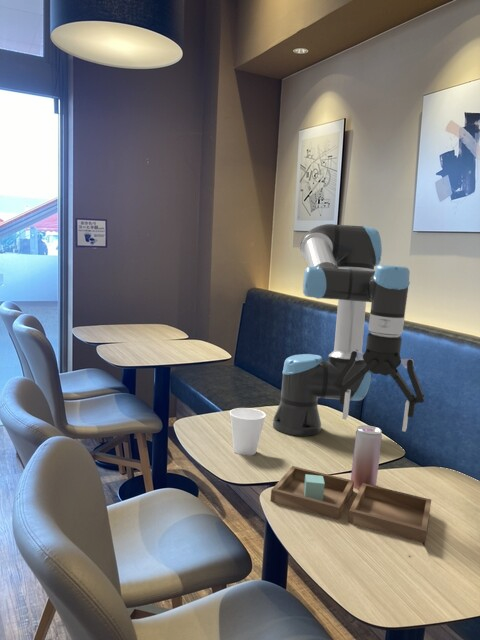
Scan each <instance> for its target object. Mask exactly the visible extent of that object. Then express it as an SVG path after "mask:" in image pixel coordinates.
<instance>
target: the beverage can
mask: <svg viewBox="0 0 480 640" xmlns="http://www.w3.org/2000/svg"><path fill="white" fill-rule="evenodd" d="M382 439H383V435H382V429H381V428H379V427H376V426H372V425H366V424H365V425H364V424H363V425H358V426H357V429H356V431H355V439H354V447H353V456H352V465H351V475H350V480H353V481H354V487H353V489H356V490H358V491H359V490H360V488H361V486H362V484H363V483H365V484H369V485H373V486H377V482H378V481H377V480H378V474H379V464H380V455H381V449H382V448H381V447H382Z"/></svg>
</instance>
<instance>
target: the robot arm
mask: <svg viewBox="0 0 480 640" xmlns="http://www.w3.org/2000/svg"><path fill="white" fill-rule="evenodd" d="M299 249H300V254H301V257H302V258H303V260H305V261H306V265H307V267H306V268H305V269H304V273H303V281H302V293H303V295H304V296H305V297H308V298H315V299H324V300H325V299H326V300H337V311H336V323H335V335H334V344H333V345H334V347H333V351H331V353H329V354H328V360H323V356H321V355H319V354H312V353H303V354H300V353H299V354H294V355H291V356H289V357H287V358H286V359H285V360H284V363H283V370H282V380H281V381H282V382H281V392H280V402H279V405H278V406H277V408H276V409H277V410H276V412H275V413H274V415H273V419H272V421H273V422H272V428H274V429H275V430H276V431H279V432H281V433H283V434H287V435H291V436H300V437H301V436H303V437H305V436H306V437H307V436H309V437H310V436H315V435H318V434H319V433H321V430H322V429H321V428H322V422H321V417H320V416H321V415H320V413H319V412H320V411H319V409H318V401H319V399H330V400H339V404H341V405H343V410H342V418H341V419H342V420H347V418H348V416H349V411H350V401H355V402H356V401H357V402H358V401H362V400H363V399H364V398H365V397H366V395H367V394H368V392H369V389H370V384H371V380H372V374H374V375H379V374H380V375H382V376H390V377H391V378H392V379H393V380H394V381H395V383H396V385H397V386H398V387H399V389H400V391H401V392H402V393H403V395H404V396H405V398H406V399H407V400H406V401H405V404H404V405H405V406H404V414H403V421H402V429H401V432H404V433H405V432H406V431H407V427H408V421H409V418H413V416H414V414H415V407H416V404H418V403H424V400H425V395H424V392H423V390H422V387H421V384H420V381H419V379H418V376H417V373H416V371H415V368H414V367H415V364H414V363H415V360H414V358H413V357H410V358H401V346H402V340H403V338H402V336H401V335H402V334H403V332H404V325H405V324H404V323H405V317H406V316H405V315H406V307H407V300H408V292H409V286H410V283H411V282H410V275H411V274H410V269H409V268H408V267H406V266H401V265H389V264H381V263H380V262H381V259H382V251H383V250H382V240H381V236H380V232H379V231H378V229H377V228H375V227H369V226H364V225H362V226H361V225H347V224H346V225H345V224H333V223H325V224H321V225H318V226H316V227H313V228H311V229H310V230H308V231H307V232H306V233H305V234H304V235H303V237H302V238H301V240H300V244H299ZM367 303H371V305H370V313H369V321H368V329H367V330H368V331H369V332H368V334H367V338H366V345H365V346H366V347H365V351H364V352H363V343H364V334H365V333H364V331H365V319H366V310H367V309H366V307H367ZM400 365H402V366H403V368H404V369H405V370H406V371H407V374H408V378H409V380H410V382H411V385H412V388H413V390H414V393H415V395H414V393H413V392H412V389H410V387H409V386H408V384H407V382H406V381H405V380H404V378H403V377H402V375H401V373H400V371H399V370H398V367H399V366H400Z"/></svg>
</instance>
